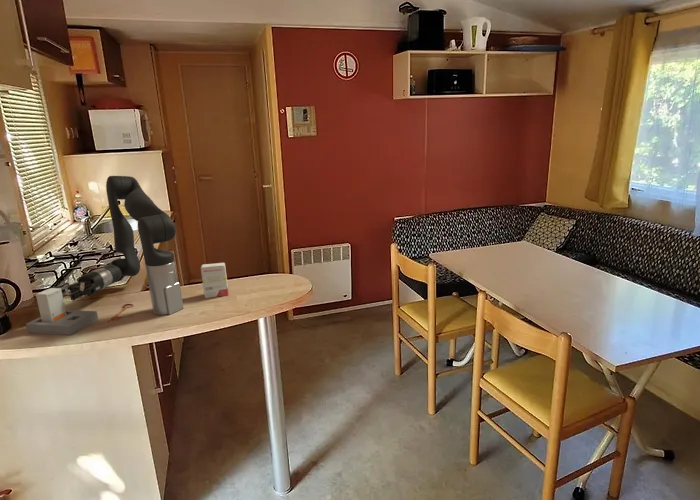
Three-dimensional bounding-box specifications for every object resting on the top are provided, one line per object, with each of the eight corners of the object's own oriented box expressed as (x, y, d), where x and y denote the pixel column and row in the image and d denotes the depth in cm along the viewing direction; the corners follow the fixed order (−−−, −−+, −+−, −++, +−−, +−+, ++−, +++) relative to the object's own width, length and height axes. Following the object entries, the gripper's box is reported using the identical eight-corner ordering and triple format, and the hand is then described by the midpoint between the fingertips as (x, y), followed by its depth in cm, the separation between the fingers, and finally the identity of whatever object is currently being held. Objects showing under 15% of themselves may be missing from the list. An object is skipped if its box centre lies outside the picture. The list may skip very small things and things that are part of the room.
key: (120, 323, 153) (141, 305, 168) (120, 321, 153) (140, 303, 167) (102, 322, 153) (125, 305, 168) (102, 320, 153) (124, 302, 167)
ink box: (228, 291, 177) (225, 261, 174) (228, 295, 172) (224, 265, 169) (205, 293, 175) (201, 263, 172) (204, 298, 171) (200, 267, 167)
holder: (98, 319, 155) (96, 311, 155) (70, 335, 144) (68, 326, 143) (58, 317, 159) (56, 309, 158) (28, 332, 148) (25, 323, 147)
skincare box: (54, 329, 149) (45, 294, 146) (43, 328, 150) (34, 294, 147) (68, 321, 155) (61, 288, 151) (58, 321, 156) (50, 287, 152)
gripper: (77, 270, 169) (39, 285, 154) (110, 271, 166) (76, 287, 151) (81, 290, 171) (44, 306, 156) (114, 291, 168) (80, 308, 153)
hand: (60, 297), depth 153 cm, fingers open, 8 cm apart
